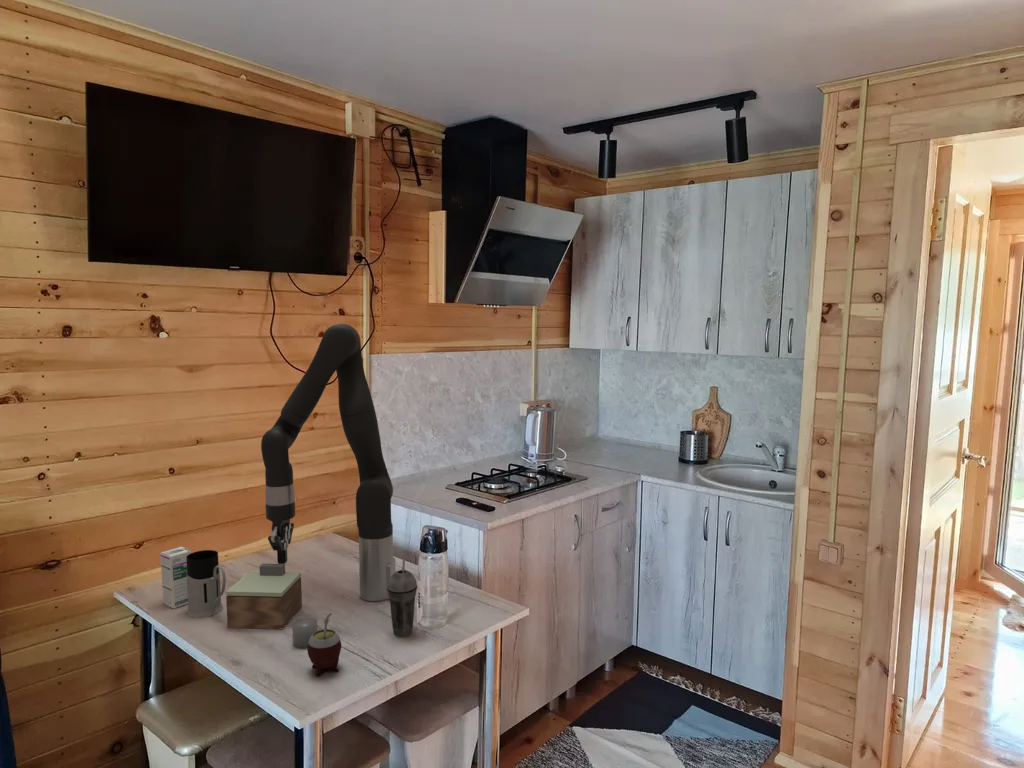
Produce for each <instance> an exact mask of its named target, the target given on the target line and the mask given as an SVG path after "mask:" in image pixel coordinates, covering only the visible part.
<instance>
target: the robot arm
mask: <svg viewBox="0 0 1024 768" xmlns="http://www.w3.org/2000/svg"><path fill="white" fill-rule="evenodd" d="M362 355H363V354H362V345H361V337H360V334H359V332H358V331H357V329H355V328H354V327H353V326H351V325H350V324H345V323H339V324H337V323H336V324H333V325H330V326H329V327H328V328H327V329H326V330H325V331H324V332H323V335H322V337H321V340H320V342H319V345H318V347H317V350H316V353H315V354H314V357H313V359H312V361H311V362H310V364H309V367H308V368H307V369H306V371H305V373H304V375H303V376H302V377H301V379H300V380H299V382H298V383H297V385H296V387H294V389H293V391H292V392H291V394H290V395H289V397H288V398H287V400H286V402H285V403H284V405H283V407H282V408H281V410H280V415H279V417H278V419H277V420H276V422H275V423H274V425H272V427H271V429H269V430H267V431H266V432H264V433H263V435H262V438H261V445H260V449H261V450H260V451H261V455H262V460H263V461H262V462H263V466H264V468H265V470H264V471H265V473H264V475H265V477H264V478H265V479H264V480H265V490H264V493H265V494H264V498H265V499H264V500H265V519H267V520H268V521H270V522H271V523H272V524H271V533H272V534H271V535H268V537H267V540H268V543H269V544H270V546H271V548H272V550H273V551H276V553H277V554H276V556H277V564H285V565H286V563H287V562H288V549H289V545H290V544H291V543H292V542H291V541H292V536H293V531H294V528H295V527H294V526H295V523H294V522H291V519H294V518H295V516H296V494H295V486H294V472H293V471H294V470H293V465H292V463H290V459H289V457H290V456H289V449H290V448H291V447H292V446H293V444H294V443H295V441H296V439H297V437H298V435H299V433H300V431H301V430H302V428H303V426H304V424H305V423H306V422H307V421H308V419H309V418H310V416H311V414H312V413H313V411H314V409H315V408H316V406H317V404H319V403H318V402H319V401H320V399H321V397H322V395H323V393H324V391H325V389H326V387H327V385H328V383H329V381H330V380H331V378H332V376H333V375H334V373H336V377H337V383H338V384H337V386H338V391H337V393H338V395H337V397H338V408H339V409H338V410H339V415H340V420H341V423H342V427H343V428H342V429H343V432H344V436H345V438H346V440H347V443H348V445H349V447H350V449H351V451H352V453H353V455H354V457H355V460H356V465H357V469H358V477H359V486H358V488H357V490H356V493H355V511H356V514H355V515H356V527H357V530H358V534H357V535H358V561H359V562H358V565H359V566H358V567H359V569H358V570H359V574H358V575H359V597H360V598H361V599H362V600H364V601H368V602H380V601H384V600H385V601H386V600H390V598H389V595H388V590H387V587H388V582H389V579H390V577H391V576H392V575H393V574H394V573H395V572H396V558H395V557H394V537H393V535H394V534H393V533H394V530H393V529H394V526H393V522H392V502H391V501H392V497H393V495H394V494H393V493H394V485H393V484H392V483H393V482H392V480H391V477H390V475H389V471H388V469H387V466H386V462H385V459H384V456H383V455H384V454H383V451H382V450H383V449H382V442H381V435H380V429H379V424H378V418H377V413H376V409H375V404H374V402H373V397H372V393H371V391H370V387H369V384H368V380H367V378H366V373H365V369H364V363H363V356H362Z"/></svg>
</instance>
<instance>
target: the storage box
mask: <svg viewBox="0 0 1024 768" xmlns="http://www.w3.org/2000/svg"><path fill="white" fill-rule="evenodd" d="M302 596H303V595H302V576H301V577H300V578H299V579H298V580H297V581H296V582H295V583H294V584H293V585H292V586H291V587H290V589H289V590H288V591H287V592H286V593H285V594H284V595H283V596H282V597H272V596H228V595H225V602H226V620H227V621H226V623H227V625H226V626H227V628H228V629H232V628H233V629H260V628H275V629H276V630H279V629H278V628H283V629H285V627H286V626H287V625H288V624H289V623H288V622H290V621H291V620H292V619H293V618H294V617H295V615H296V614H298V612H299V611H300V610H299V609H302V607H303V597H302ZM293 616H294V617H293ZM292 617H293V618H292ZM291 618H292V619H291ZM290 619H291V620H290ZM289 620H290V621H289ZM287 623H288V624H287ZM286 624H287V625H286ZM285 625H286V626H285ZM275 629H274V630H275Z"/></svg>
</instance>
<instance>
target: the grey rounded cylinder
mask: <svg viewBox="0 0 1024 768" xmlns="http://www.w3.org/2000/svg"><path fill="white" fill-rule="evenodd" d="M291 628H292V646H293V648H295V649H299V650H300V649H303V650H304V649H307V648H308V642H309V639H310V637H311V636H312V634H313V633H315V632H317V631H318V620H317V618H314V617H309V616H308V617H301V618H298V619H296V620H294V621H293V622H292V626H291Z"/></svg>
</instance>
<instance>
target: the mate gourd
mask: <svg viewBox="0 0 1024 768" xmlns="http://www.w3.org/2000/svg"><path fill="white" fill-rule="evenodd" d="M332 615H333V613H332V612H331V613H329V614H327V616H326V617H325V618H324V627H323V629H319V630H317V632H315V633H313V634H312V636H311V637H310V639H309V642H308V648H306V650H307V655H308V658H309V660H310V662H311V663H312V665H311V669H314V670H316V673H315V677H318V678H319V677H320V676H322V675H323V674H324V673H325V672H330V673H331V672H332V673H338V672H339V668H338V665H339V659H340V654H341V650H342V641H341V637H340V635H339V633H338V632H337V631H335V630H333V629H329V628H328V623H329V622H330V621H329V618H330V617H331V616H332Z"/></svg>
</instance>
